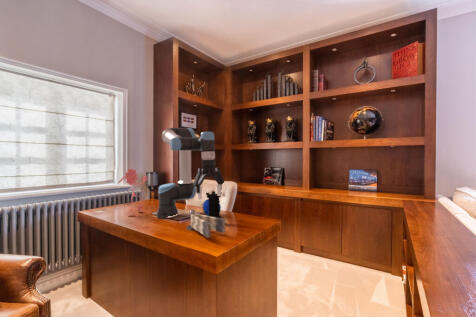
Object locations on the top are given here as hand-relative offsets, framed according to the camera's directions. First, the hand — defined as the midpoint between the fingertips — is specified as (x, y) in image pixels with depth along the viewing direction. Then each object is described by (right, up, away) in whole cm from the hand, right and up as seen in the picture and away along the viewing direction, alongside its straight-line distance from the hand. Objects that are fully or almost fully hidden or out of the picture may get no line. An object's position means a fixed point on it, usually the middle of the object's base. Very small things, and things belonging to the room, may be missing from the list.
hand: (209, 197), depth 130 cm
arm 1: (-5, -19, -1) cm, 20 cm away
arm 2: (-1, -19, +4) cm, 19 cm away
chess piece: (0, -21, +21) cm, 29 cm away
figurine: (-66, -21, +48) cm, 84 cm away
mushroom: (-4, -20, +38) cm, 43 cm away
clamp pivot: (-12, -21, +11) cm, 26 cm away
